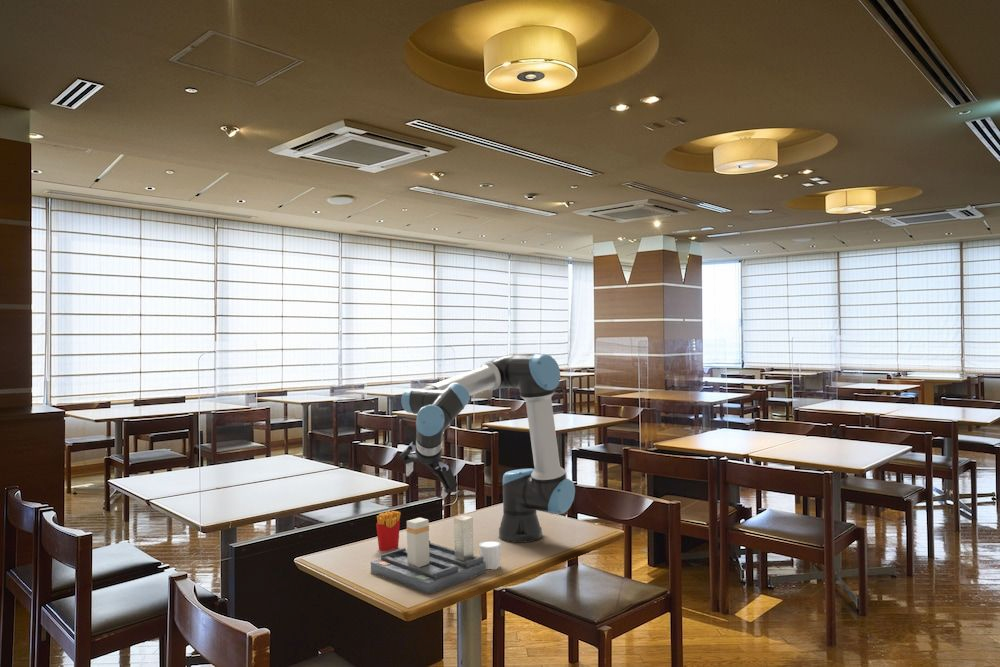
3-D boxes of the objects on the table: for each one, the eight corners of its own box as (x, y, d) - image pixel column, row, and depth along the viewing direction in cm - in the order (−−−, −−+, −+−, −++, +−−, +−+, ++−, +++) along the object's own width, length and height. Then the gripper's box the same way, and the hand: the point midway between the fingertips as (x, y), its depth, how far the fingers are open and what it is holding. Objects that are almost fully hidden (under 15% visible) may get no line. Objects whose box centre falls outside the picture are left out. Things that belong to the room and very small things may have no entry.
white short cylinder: (504, 563, 203) (503, 540, 204) (499, 571, 197) (498, 547, 197) (482, 562, 205) (482, 539, 205) (476, 570, 198) (476, 546, 198)
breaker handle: (420, 560, 198) (419, 517, 198) (429, 563, 195) (428, 519, 195) (407, 565, 194) (406, 520, 195) (416, 568, 192) (415, 523, 192)
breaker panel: (427, 553, 215) (426, 504, 215) (485, 572, 196) (484, 518, 196) (370, 571, 199) (369, 518, 199) (428, 594, 180) (427, 535, 180)
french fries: (380, 552, 217) (380, 515, 217) (375, 549, 220) (374, 513, 221) (403, 546, 223) (402, 511, 223) (397, 544, 226) (396, 508, 226)
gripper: (386, 433, 191) (387, 472, 207) (457, 477, 184) (453, 514, 199) (402, 416, 196) (402, 455, 211) (472, 458, 188) (467, 496, 204)
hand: (427, 484), depth 205 cm, fingers open, 13 cm apart
